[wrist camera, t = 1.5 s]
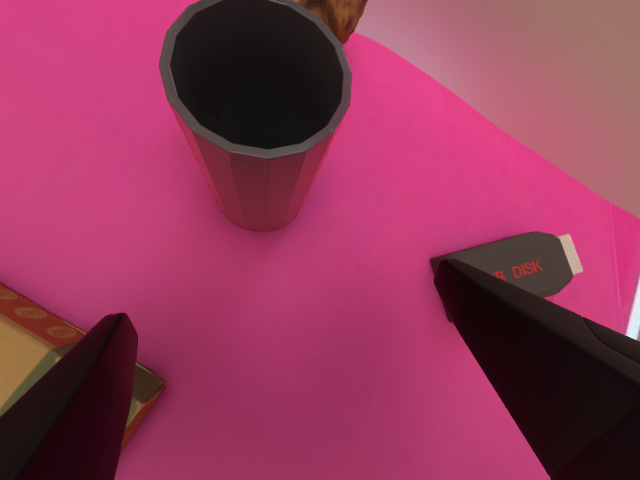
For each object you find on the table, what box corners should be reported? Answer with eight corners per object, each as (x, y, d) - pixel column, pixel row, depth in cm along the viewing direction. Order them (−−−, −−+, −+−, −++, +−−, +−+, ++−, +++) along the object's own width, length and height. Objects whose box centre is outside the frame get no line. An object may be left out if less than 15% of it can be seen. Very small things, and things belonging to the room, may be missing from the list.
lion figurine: (323, 21, 27) (354, -112, 18) (359, 68, 26) (408, -43, 18) (174, 95, 23) (121, -29, 14) (215, 150, 23) (187, 60, 14)
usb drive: (429, 258, 24) (450, 254, 22) (543, 228, 27) (574, 220, 25) (449, 322, 24) (472, 325, 21) (564, 284, 27) (597, 282, 24)
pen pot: (300, 237, 23) (344, 171, 11) (208, 225, 22) (141, 136, 9) (308, 155, 24) (356, 15, 12) (222, 140, 23) (179, -32, 11)
